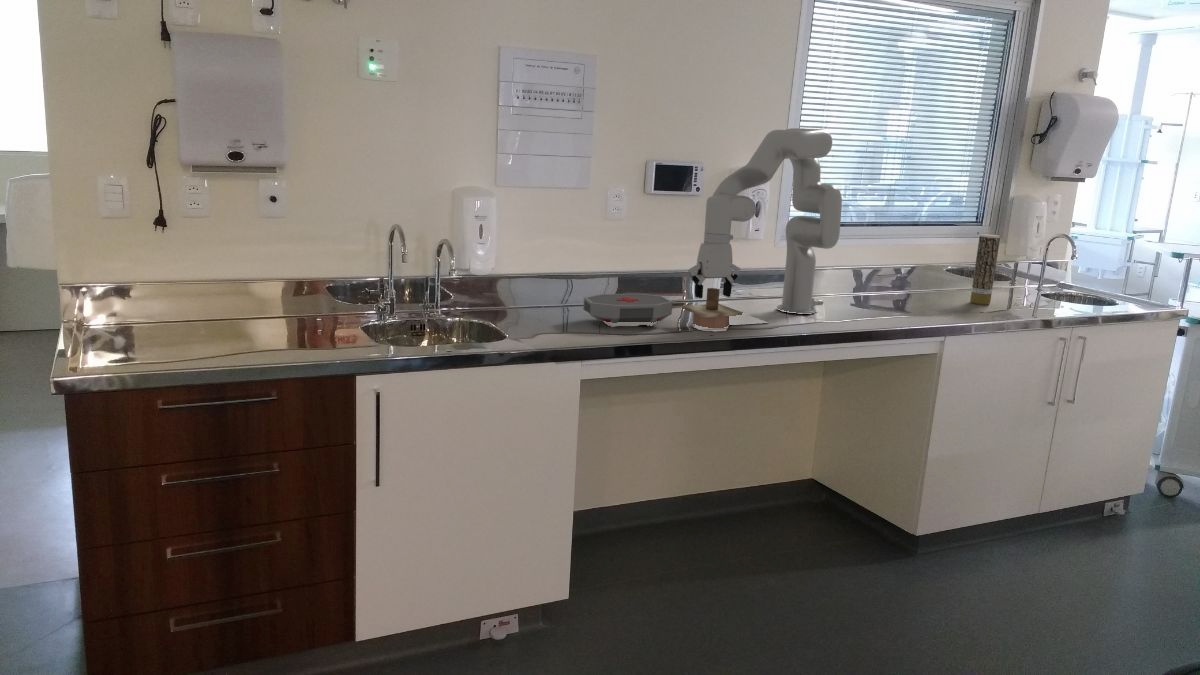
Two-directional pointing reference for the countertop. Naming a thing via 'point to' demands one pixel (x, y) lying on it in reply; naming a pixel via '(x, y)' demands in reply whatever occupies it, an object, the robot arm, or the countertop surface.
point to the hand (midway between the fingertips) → (712, 296)
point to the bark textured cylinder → (985, 269)
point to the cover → (712, 306)
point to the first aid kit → (628, 307)
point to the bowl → (711, 321)
